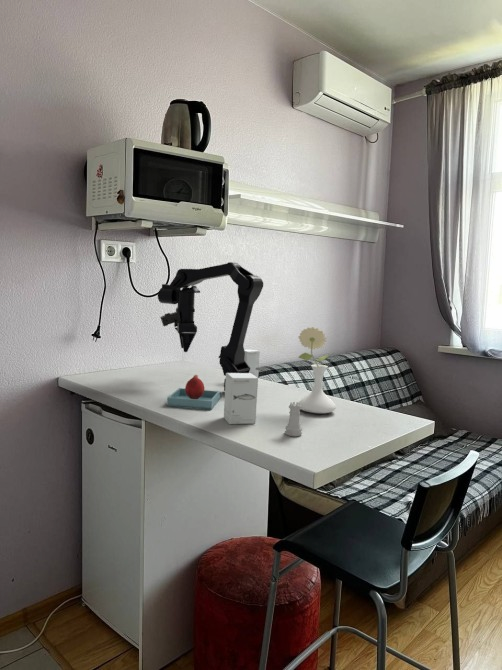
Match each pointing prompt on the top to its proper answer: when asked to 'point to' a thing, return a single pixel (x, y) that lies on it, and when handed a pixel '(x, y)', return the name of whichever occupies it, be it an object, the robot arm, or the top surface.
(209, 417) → the top surface
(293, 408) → the rook chess piece
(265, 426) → the top surface
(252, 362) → the skincare box
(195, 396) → the onion
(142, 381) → the top surface
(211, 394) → the tray
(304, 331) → the flower in vase
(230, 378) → the supplement box
